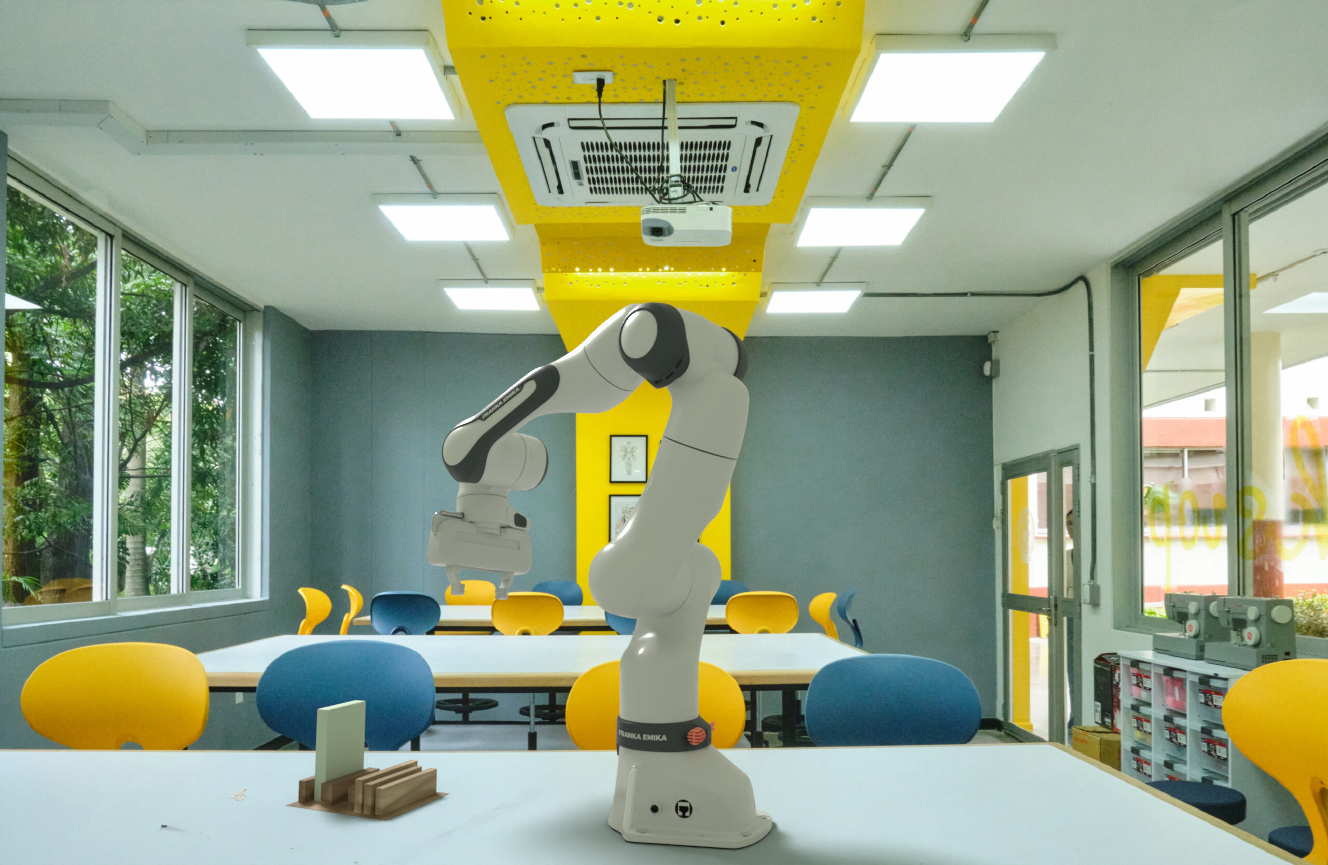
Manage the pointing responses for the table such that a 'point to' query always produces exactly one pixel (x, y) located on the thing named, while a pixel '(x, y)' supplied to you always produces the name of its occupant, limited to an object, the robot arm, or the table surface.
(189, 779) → the table surface
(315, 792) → the pale green flat block
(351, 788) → the offcut rack
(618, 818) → the robot arm
